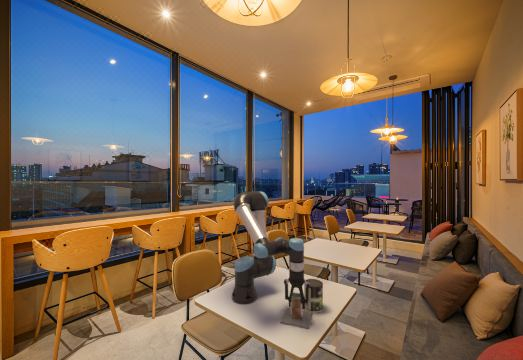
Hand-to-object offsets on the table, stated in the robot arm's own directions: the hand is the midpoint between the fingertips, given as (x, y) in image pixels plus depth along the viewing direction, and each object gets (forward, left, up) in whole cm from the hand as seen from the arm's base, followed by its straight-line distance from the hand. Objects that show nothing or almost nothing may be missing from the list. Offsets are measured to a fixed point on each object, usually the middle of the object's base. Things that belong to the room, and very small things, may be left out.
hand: (296, 314), depth 119 cm
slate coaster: (0, 0, -2) cm, 2 cm away
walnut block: (0, 0, -1) cm, 1 cm away
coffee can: (+7, +13, -2) cm, 15 cm away
